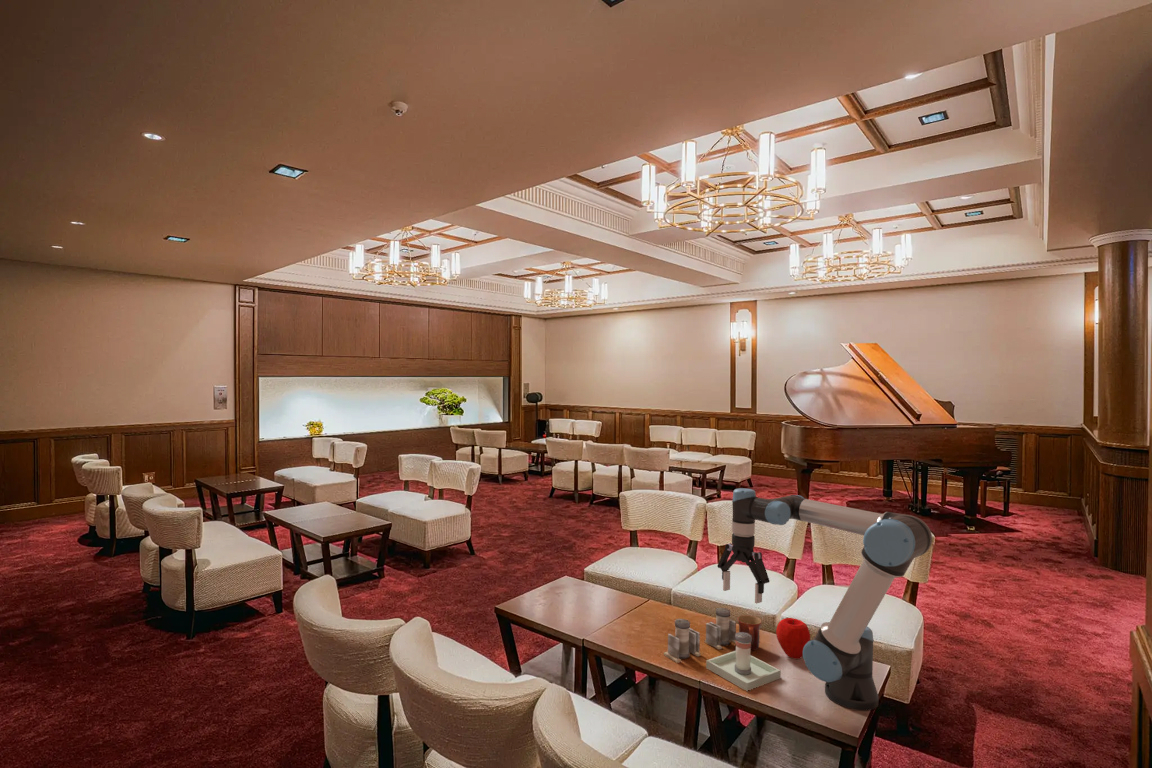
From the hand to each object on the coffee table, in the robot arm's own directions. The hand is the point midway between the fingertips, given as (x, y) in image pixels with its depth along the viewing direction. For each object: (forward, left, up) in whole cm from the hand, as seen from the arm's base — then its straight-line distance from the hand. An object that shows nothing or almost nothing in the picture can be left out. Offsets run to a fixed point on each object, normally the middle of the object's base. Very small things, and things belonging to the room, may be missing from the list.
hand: (742, 596), depth 194 cm
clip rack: (+18, 0, -25) cm, 31 cm away
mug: (+9, -15, -25) cm, 31 cm away
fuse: (-2, +1, -24) cm, 25 cm away
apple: (-3, -24, -25) cm, 35 cm away
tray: (-2, +1, -25) cm, 25 cm away
